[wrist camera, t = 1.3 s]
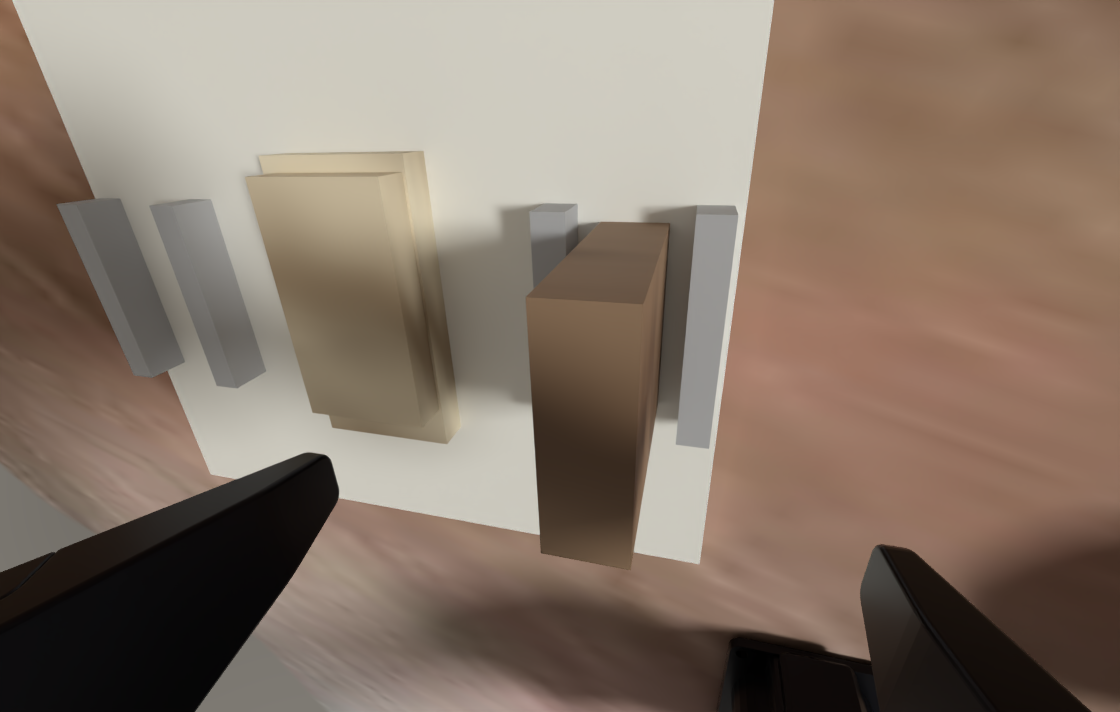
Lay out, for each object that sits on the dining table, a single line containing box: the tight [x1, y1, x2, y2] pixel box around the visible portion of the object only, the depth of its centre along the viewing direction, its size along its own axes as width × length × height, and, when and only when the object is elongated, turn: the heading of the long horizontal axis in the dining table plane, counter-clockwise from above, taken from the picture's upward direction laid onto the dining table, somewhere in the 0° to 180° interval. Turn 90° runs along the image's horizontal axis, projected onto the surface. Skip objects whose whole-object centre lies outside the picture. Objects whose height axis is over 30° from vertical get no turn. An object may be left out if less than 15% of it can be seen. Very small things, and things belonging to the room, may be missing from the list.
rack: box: [12, 0, 774, 564], centre depth 17 cm, size 20×24×2 cm
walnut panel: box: [525, 222, 670, 570], centre depth 12 cm, size 6×2×7 cm, turn 1°
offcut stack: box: [245, 151, 461, 444], centre depth 17 cm, size 10×5×2 cm, turn 1°
